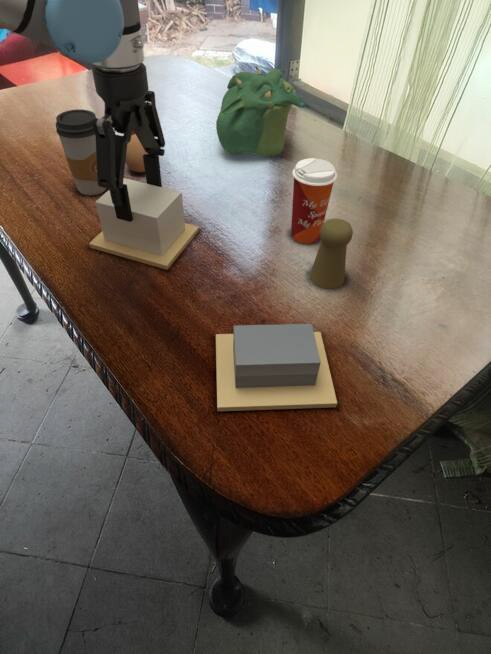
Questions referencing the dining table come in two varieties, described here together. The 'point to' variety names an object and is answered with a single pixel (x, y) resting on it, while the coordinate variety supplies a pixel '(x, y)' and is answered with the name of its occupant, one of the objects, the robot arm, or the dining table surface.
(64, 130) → the coffee cup
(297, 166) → the paper cup
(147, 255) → the cream box
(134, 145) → the egg
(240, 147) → the decorative sculpture
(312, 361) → the grey stack
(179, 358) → the dining table surface
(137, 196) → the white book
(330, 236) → the pepper shaker
